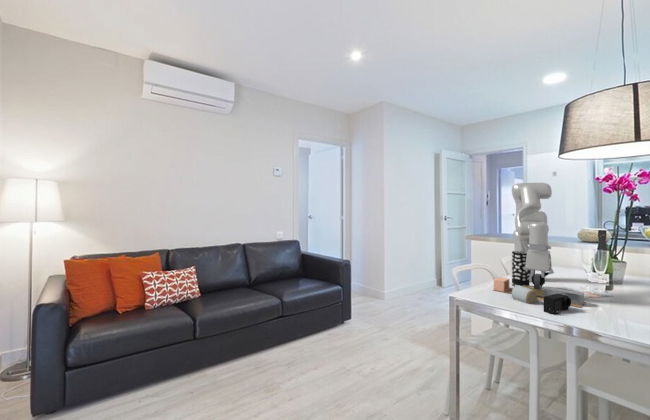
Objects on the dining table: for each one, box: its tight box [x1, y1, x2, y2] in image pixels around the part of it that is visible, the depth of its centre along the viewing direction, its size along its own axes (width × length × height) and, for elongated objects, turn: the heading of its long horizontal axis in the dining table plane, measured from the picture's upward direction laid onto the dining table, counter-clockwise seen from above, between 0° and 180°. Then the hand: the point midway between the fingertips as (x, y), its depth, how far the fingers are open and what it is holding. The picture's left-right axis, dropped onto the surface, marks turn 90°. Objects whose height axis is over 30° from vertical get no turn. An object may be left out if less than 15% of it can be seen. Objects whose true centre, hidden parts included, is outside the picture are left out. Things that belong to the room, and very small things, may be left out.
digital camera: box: [543, 294, 571, 316], centre depth 133 cm, size 10×5×7 cm, turn 113°
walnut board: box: [491, 287, 587, 309], centre depth 153 cm, size 12×37×1 cm, turn 40°
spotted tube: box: [511, 250, 530, 288], centre depth 171 cm, size 8×8×20 cm
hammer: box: [523, 272, 543, 296], centre depth 149 cm, size 4×22×10 cm, turn 41°
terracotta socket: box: [493, 276, 510, 292], centre depth 165 cm, size 8×5×6 cm, turn 130°
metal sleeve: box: [542, 286, 585, 307], centre depth 144 cm, size 5×15×5 cm, turn 40°
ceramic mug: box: [511, 285, 539, 304], centre depth 146 cm, size 11×8×8 cm
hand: (538, 284), depth 152 cm, fingers closed on hammer, 2 cm apart
